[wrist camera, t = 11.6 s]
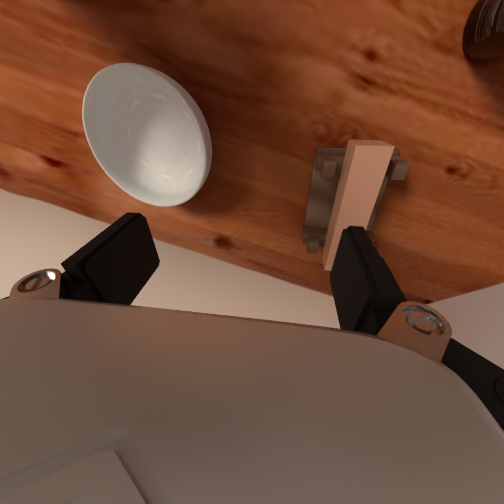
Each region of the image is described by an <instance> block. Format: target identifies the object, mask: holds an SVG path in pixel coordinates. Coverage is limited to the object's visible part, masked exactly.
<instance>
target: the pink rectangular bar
mask: <svg viewBox="0 0 504 504" xmlns="http://www.w3.org/2000/svg"><path fill="white" fill-rule="evenodd" d="M394 147H395V146H393V145H391V144H389V143H387V142H385V141H383V140H348V144H347V149H346V153H345V157H344V162H343V166H342V170H341V175H340V179H339V183H338V188H337V192H336V196H335V201H334V205H333V209H332V214H331V218H330V222H329V227H328V231H327V235H326V239H325V244H324V248H323V252H322V259H323V265H324V270H328V271H331V269H332V266H333V262H334V259H335V255H336V252H337V248H338V244H339V241H340V237H341V234H342V231H343V229H347V228H348V226H363V227H364V229H365V230H366V228H367V225H368V222H369V219H370V216H371V213H372V211H373V208H374V205H375V202H376V199H377V196H378V193H379V190H380V188H381V185H382V182H383V179H384V176H385V173H386V170H387V167H388V164H389V162H390V159H391V156H392V153H393V150H394Z"/></svg>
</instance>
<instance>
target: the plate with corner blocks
mask: <svg viewBox="0 0 504 504" xmlns="http://www.w3.org/2000/svg"><path fill="white" fill-rule="evenodd" d="M346 149H347V148H338V147H316V151H315V157H314V163H313V170H312V176H311V183H310V189H309V195H308V202H307V208H306V214H305V221H304V227H303V233H302V238H303V244H307V252H308V253H317V251H318V247H319V245H322V246H324V244H325V239H326V235H327V231H328V227H329V222H330V218H331V214H332V209H333V205H334V201H335V196H336V192H337V188H338V183H339V179H340V175H341V170H342V166H343V162H344V157H345V153H346ZM398 153H399V150H397V149H394V150H393V153H392V156H391V159H390V162H389V164H388V167H387V170H386V173H385V176H384V179H383V182H382V185H381V188H380V190H379V193H378V196H377V199H376V202H375V205H374V208H373V211H372V213H371V216H370V219H369V222H368V225H367V228H366V232H367V234H368V236H369V238H370V239H371V241H372V243H373V245H374V243H375V239H374V237H373V235H372V233H371V232H370V230H371V227H372V225H373V222H374V219H375V216H376V213H377V211H378V208H379V205H380V202H381V200H382V197H383V194H384V191H385V189H386V186H387V183H388V180H389V178H390V179H391V180H404V179H405V177H406V174H407V172H408V169H409V167H410V165H409V164H408V163H406V161H407V160H405V159H403V158H402V157H400V156H398ZM374 247H375V245H374ZM375 249H377V248H376V247H375Z"/></svg>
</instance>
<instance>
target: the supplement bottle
mask: <svg viewBox="0 0 504 504" xmlns="http://www.w3.org/2000/svg"><path fill="white" fill-rule="evenodd" d="M463 46H464V50H465V52H466V54H467V55H468V56H469V57H470V58H471V59H473V60H475V61H478V62H490V61H497V60H502V59H504V0H478V1H477V3H476V4H475V6H474V7H473V9H472V11H471V13H470V15H469V17H468V19H467V22H466V25H465V28H464V33H463Z"/></svg>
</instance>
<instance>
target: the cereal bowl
mask: <svg viewBox="0 0 504 504" xmlns="http://www.w3.org/2000/svg"><path fill="white" fill-rule="evenodd" d="M82 115H83V124H84V130H85V134H86V137H87V140H88V143H89V145H90V147H91V150H92V152H93V154H94V156H95V158H96V159H97V161H98V163H99V164H100V166H101V167H102V168H103V170H104V171H105V172H106V174H107V175H108V176H109V177H110V178H111V179H112V180H113V181H114V182H115V183H116V184H117V185H118V186H119V187H120V188H121V189H123V190H124V191H125V192H126V193H128V194H129V195H131V196H132V197H134V198H136V199H138V200H140V201H142V202H145V203H147V204H151V205H155V206H165V207H167V206H175V205H179V204H182V203H184V202H186V201H188V200H190V199H191V198H192V197H193V196H194V195H195V194H196V193H197V192H198V191H199V190H200V188H201V187H202V186H203V184H204V183H205V181H206V179H207V176H208V174H209V171H210V167H211V163H212V142H211V136H210V132H209V129H208V126H207V123H206V120H205V118H204V116H203V114H202V112H201V110H200V108H199V107H198V105H197V104H196V102H195V101H194V100H193V98H192V97H191V96H190V94H189V93H188V92H187V91H186V90H185V89H184V88H183V87H182V86H181V85H179V84H178V83H177V82H176V81H175V80H174V79H172V78H170V77H169V76H167V75H165V74H164V73H162V72H160V71H158V70H156V69H153V68H151V67H148V66H145V65H140V64H136V63H130V62H129V63H116V64H112V65H109V66H107V67H105V68H104V69H102V70H101V71H99V72H98V73H97V74H96V75H95V76H94V77H93V78H92V79H91V81H90V83H89V84H88V86H87V89H86V91H85V95H84V99H83V110H82Z"/></svg>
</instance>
